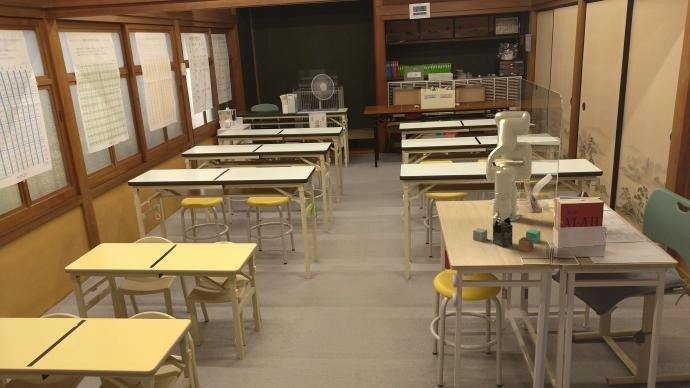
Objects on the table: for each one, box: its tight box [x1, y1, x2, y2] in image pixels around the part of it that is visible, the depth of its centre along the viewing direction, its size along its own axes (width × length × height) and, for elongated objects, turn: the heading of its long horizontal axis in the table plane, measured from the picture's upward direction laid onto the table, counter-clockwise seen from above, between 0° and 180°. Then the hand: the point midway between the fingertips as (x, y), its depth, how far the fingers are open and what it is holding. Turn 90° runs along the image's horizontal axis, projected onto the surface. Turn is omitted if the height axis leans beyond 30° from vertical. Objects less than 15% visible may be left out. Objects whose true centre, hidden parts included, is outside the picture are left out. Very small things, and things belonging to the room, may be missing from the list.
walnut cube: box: [518, 236, 535, 253], centre depth 249 cm, size 5×5×5 cm
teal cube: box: [525, 228, 541, 244], centre depth 259 cm, size 5×5×5 cm
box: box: [492, 221, 514, 248], centre depth 257 cm, size 8×6×11 cm
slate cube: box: [472, 227, 488, 243], centre depth 265 cm, size 5×5×5 cm
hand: (502, 229), depth 255 cm, fingers open, 9 cm apart
